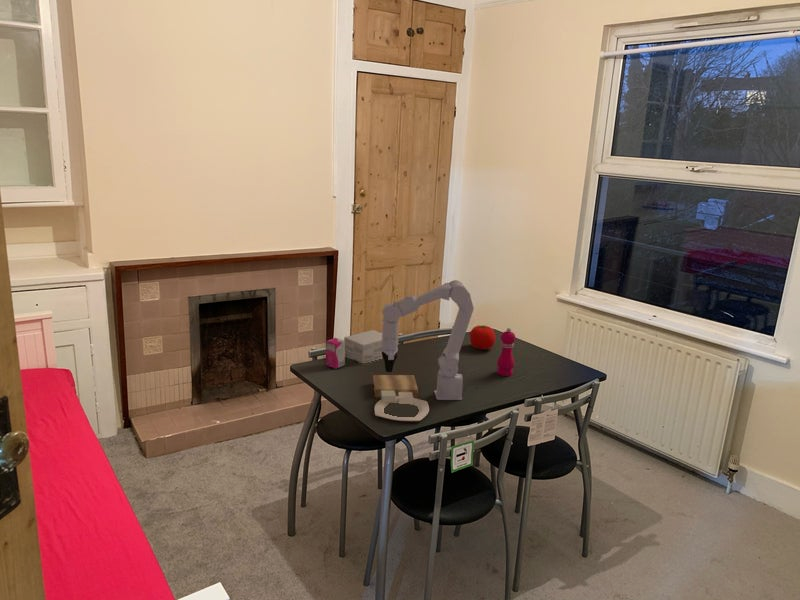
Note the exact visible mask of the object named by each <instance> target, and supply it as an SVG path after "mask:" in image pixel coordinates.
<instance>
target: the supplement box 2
mask: <svg viewBox="0 0 800 600" xmlns="http://www.w3.org/2000/svg"><path fill="white" fill-rule="evenodd" d="M343 340H345V358H346V357H347V356H348V358H347V359H349V358H351V359H354V360H356V361H358V362H360V363H367V362H370V363H372V362H371V361H374V362H376V361H375V360H377V361H380V360H379V359H381V360H383V359H382V358H383V357H382V352H383V351H380V350H379V347H382V332H379V331H377V330H375V329H371V330H368V331H363V332H359V333H356V334H352V335H351V334H350V335H348V336H344V338H343ZM346 355H347V356H346ZM351 359H350V360H351ZM360 363H359V364H360ZM367 364H368V363H367Z"/></svg>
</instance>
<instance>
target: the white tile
mask: <svg viewBox="0 0 800 600" xmlns="http://www.w3.org/2000/svg"><path fill="white" fill-rule="evenodd" d="M398 400H399V404H413V394H412V392H399V393H398Z"/></svg>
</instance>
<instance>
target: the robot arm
mask: <svg viewBox="0 0 800 600" xmlns="http://www.w3.org/2000/svg"><path fill="white" fill-rule="evenodd" d="M440 299H443V300H445V301H450V299H451V300H452V301H453V302H454V304H456V305H457V307H458V311H457V314H456V317H455V320H454V323H453V326H452V329H451V333H450V335H449V338H448V341H447V344H446V347H444V349H443V351H442V353H441V355H440V356H439V357H438V359H437V363H438V366H439V370H437V376H436V377H437V379H436V380H437V381H436V390H434V391H433V392H434V395H435V399H436V400H438V401H462V400H463V397H462V396H463V387H464V386H463V385H464V384H463V383H464V382H463V381H464V379H463V374H461V373H458V372H459V366H458V365H459V361H460V351H461V348H462V345H463V343H464V339H465V336H466V333H467V330H468V328H469V325H470V321H471V318H472V315H473V312H474V304H473V302H472V296H471V293H470V291H468V289H467V288H466V286H464V284H463V282H461V281H459V280H456V279H455V280H451V281H449V282H445V283H443V284H441V285H439V286H437V287H435V288H433V289H431V290H429V291H427V292H424V293H422V294H420V295H418V296H414V295H410V296H409V295H405V298H403V299H400V300H398V301H393V302H392V303H387V304H385V305H384V306H383V308H382V310H381V311H382V315H383V319H382V332H381V333H382V347H379V350H380V351H383V352H382V357H383V359H382V360H383V361H384V369H385V372H386V373H392V371H393V368H394V364H395V361H396V360H397V358H398V351H399V348H398V344H399V343H398V341H399V339H398V338H399V319H400V318H402V317H404V316H406V315H410V314H412V313H414V312H417V311H418V310H419V309H420V307H421V306H423V305H425V304H428V303H431V302H434V301H436V300H440Z"/></svg>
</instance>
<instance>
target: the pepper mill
mask: <svg viewBox="0 0 800 600" xmlns="http://www.w3.org/2000/svg"><path fill="white" fill-rule="evenodd" d="M516 337H517V336H516V334H515V333H514V332H512V329H511V328H510V327H507V328H506V330H505V331H503V332H502V333H501V334H500V340H501V348H502V349H501V354H500V355H499V357H498V359H497V361H496V365H497V367H498V368H497V371H496V372H497V374H498V376H499V375H500V376H504V377H510V376H512V375H513V372H514V371H513V368H514V367H515V359H514V356H513V347H514V345H515V344H514V342H515V341H516Z"/></svg>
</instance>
